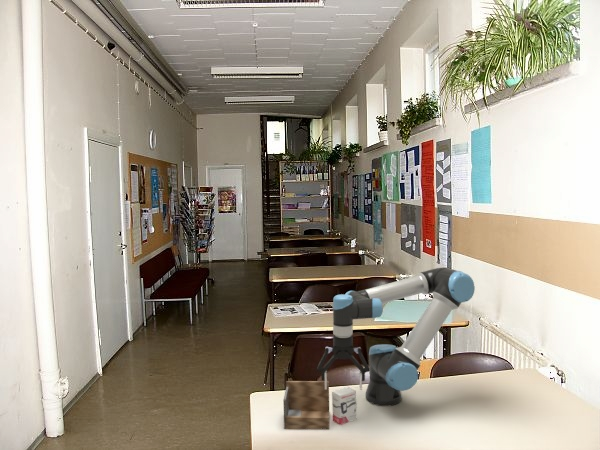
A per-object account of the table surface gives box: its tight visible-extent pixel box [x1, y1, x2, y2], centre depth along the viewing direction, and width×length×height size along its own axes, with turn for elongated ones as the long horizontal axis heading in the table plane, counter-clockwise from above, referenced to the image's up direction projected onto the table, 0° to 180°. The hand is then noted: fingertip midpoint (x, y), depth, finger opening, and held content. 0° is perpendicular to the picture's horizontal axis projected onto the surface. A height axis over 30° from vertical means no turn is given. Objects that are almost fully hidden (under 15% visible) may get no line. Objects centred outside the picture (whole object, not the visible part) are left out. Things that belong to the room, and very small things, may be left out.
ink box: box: [331, 386, 357, 426], centre depth 198 cm, size 8×5×12 cm, turn 123°
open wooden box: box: [283, 380, 330, 430], centre depth 198 cm, size 17×13×14 cm
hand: (343, 388), depth 197 cm, fingers open, 13 cm apart
